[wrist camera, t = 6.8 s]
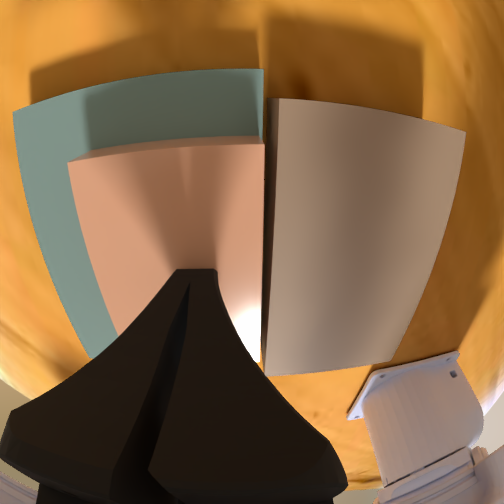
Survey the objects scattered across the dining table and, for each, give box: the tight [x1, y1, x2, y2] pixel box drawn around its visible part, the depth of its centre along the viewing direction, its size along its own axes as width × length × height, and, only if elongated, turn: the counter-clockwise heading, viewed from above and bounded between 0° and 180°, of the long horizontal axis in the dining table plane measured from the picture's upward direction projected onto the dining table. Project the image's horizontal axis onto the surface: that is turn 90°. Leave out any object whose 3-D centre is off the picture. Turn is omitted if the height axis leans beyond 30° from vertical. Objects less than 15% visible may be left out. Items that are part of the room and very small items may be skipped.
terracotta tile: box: [67, 136, 265, 362], centre depth 10 cm, size 6×9×2 cm, turn 0°
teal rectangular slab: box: [13, 69, 264, 359], centre depth 12 cm, size 10×14×2 cm
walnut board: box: [260, 98, 466, 376], centre depth 12 cm, size 7×12×3 cm, turn 179°
